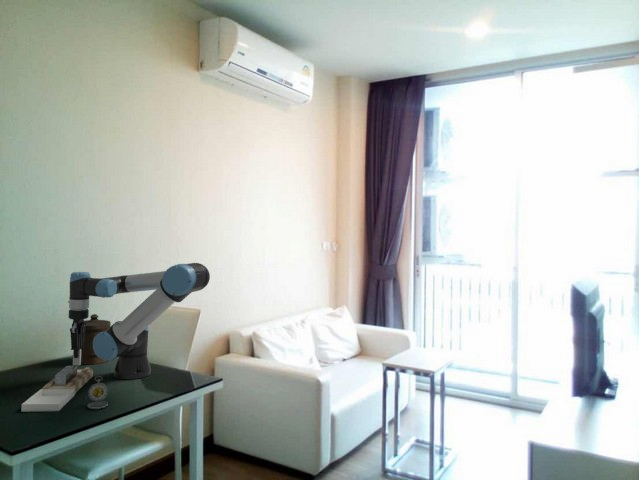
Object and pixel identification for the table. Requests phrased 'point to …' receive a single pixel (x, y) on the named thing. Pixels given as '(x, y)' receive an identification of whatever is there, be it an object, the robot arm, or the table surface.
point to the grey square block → (70, 372)
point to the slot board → (73, 380)
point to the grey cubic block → (62, 378)
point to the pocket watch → (97, 390)
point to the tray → (48, 400)
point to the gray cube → (72, 368)
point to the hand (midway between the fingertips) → (76, 364)
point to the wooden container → (91, 331)
